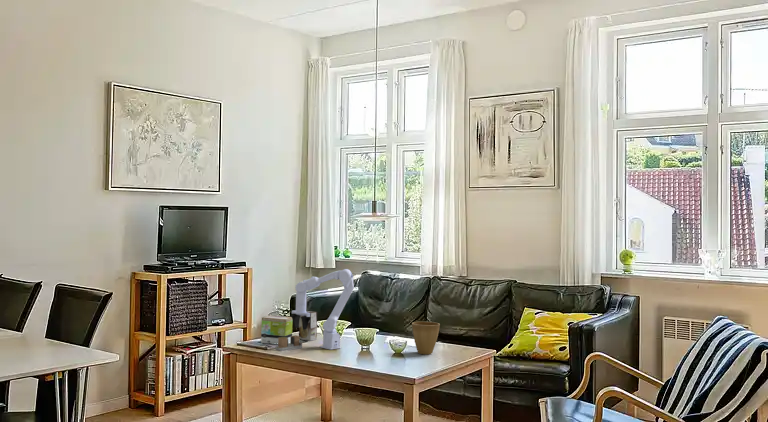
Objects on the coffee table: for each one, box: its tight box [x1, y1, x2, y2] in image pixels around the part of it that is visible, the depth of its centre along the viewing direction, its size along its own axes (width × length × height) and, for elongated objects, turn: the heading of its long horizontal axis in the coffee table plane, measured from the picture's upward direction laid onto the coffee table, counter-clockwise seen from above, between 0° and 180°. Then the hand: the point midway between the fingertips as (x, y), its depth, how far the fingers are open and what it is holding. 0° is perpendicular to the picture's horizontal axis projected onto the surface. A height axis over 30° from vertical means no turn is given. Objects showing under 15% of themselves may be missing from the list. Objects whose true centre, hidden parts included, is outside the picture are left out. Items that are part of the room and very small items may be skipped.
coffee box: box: [298, 310, 318, 342], centre depth 408 cm, size 9×6×16 cm
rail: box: [274, 337, 303, 352], centre depth 377 cm, size 5×14×6 cm, turn 133°
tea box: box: [260, 314, 294, 344], centre depth 394 cm, size 15×10×15 cm, turn 73°
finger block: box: [290, 334, 300, 346], centre depth 380 cm, size 4×4×5 cm
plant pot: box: [411, 321, 441, 355], centre depth 373 cm, size 15×15×16 cm
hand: (300, 328), depth 385 cm, fingers open, 7 cm apart
